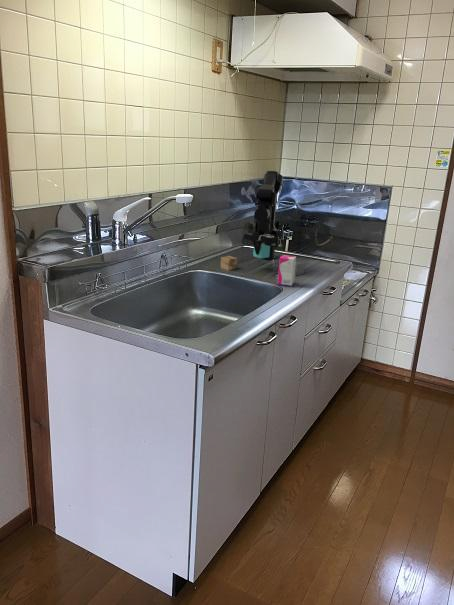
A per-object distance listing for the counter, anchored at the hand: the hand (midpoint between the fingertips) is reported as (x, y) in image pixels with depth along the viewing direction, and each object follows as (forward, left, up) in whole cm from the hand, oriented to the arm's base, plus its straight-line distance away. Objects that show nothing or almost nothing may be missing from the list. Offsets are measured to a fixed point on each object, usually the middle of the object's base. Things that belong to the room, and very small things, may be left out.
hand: (261, 253), depth 218 cm
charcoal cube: (-10, +12, -8) cm, 17 cm away
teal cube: (0, 0, -1) cm, 1 cm away
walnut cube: (+10, -10, -8) cm, 16 cm away
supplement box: (+7, +21, -8) cm, 23 cm away
